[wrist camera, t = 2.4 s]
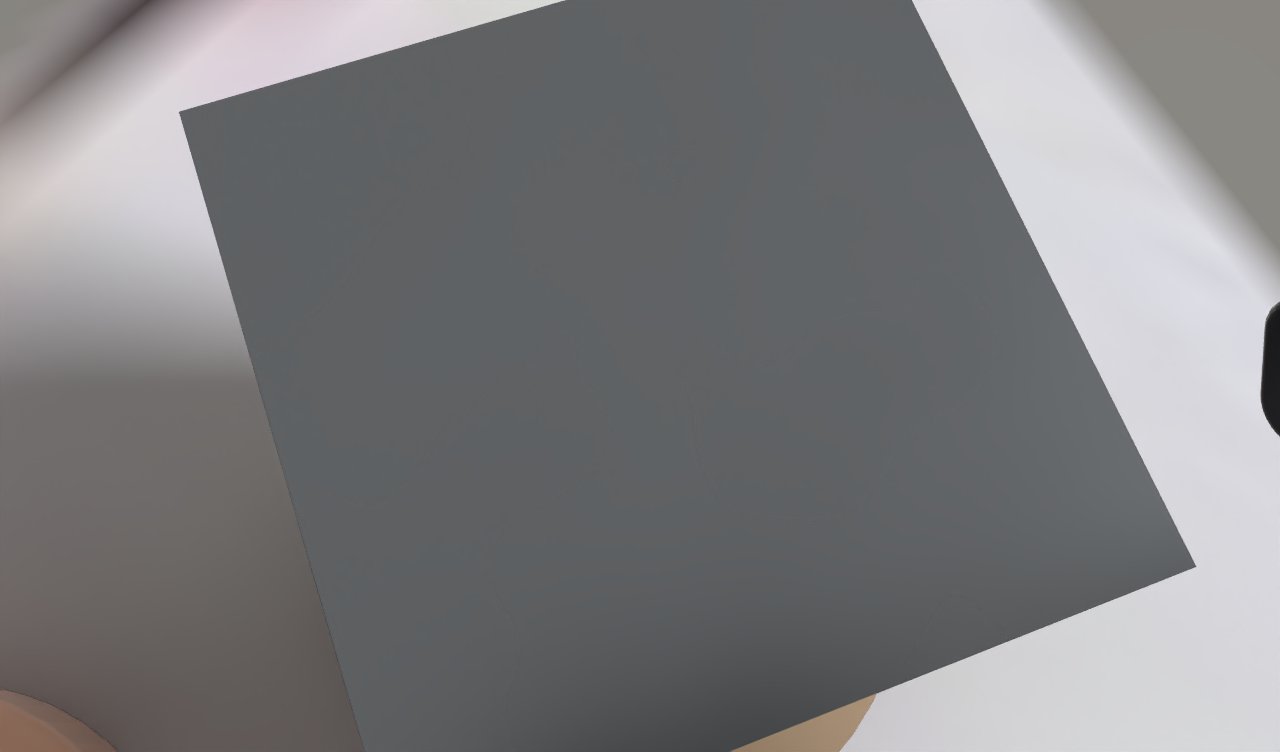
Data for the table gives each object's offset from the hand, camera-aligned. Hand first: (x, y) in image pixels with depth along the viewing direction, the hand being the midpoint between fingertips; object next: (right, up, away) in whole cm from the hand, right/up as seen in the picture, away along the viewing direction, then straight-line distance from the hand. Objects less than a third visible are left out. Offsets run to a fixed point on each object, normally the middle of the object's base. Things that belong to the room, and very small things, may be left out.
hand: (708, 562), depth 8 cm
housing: (-1, -1, +6) cm, 6 cm away
